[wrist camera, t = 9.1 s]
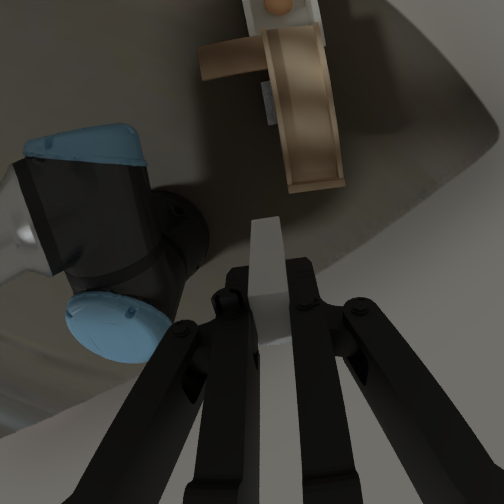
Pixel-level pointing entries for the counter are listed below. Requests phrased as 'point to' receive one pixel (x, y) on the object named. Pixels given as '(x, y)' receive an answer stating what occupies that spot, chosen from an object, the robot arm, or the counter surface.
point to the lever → (290, 98)
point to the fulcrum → (269, 103)
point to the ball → (278, 6)
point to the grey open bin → (281, 16)
